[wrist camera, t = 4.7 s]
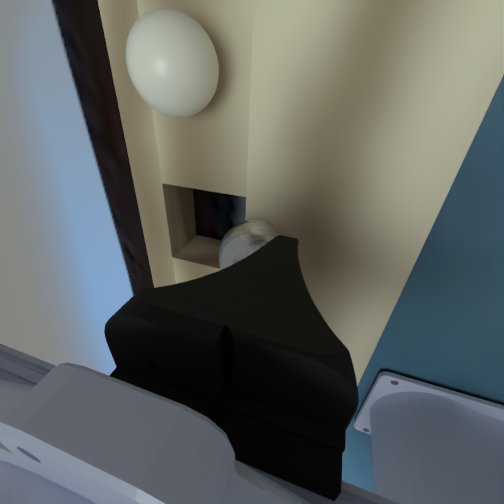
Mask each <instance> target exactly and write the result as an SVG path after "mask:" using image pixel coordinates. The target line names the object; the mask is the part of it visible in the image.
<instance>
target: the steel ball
mask: <svg viewBox="0 0 504 504" xmlns="http://www.w3.org/2000/svg"><path fill="white" fill-rule="evenodd" d="M278 235H282V236H284V235H283V234H282V232H281V231H280V230H279V229H278V228H276V227H275V226H274V225H272V224H270V223H268V222H265V221H261V220H247V221H243V222H241V223H239V224H237V225H235V226H234V227H232V228H231V229H230V230H229V231H228V232H227V233H226V234H225V236H224V238H223V239H222V241H221V244H220V247H219V264H220V267H221V270H222V269H224V268H226V267H229V266H231V265H233V264H235V263H237V262H239V261H240V260H242V259H244V258H245V257H247V256H249V255H250V254H252V253H253V252H255V251H256V250H258V249H259V248H261V247H262V246H264V245H265V244H266V243H268V242H269V241H270V240H272V239H273V238H275V237H276V236H278Z"/></svg>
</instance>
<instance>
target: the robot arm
mask: <svg viewBox="0 0 504 504" xmlns="http://www.w3.org/2000/svg"><path fill="white" fill-rule="evenodd" d="M298 244H299V241H298V239H297V238H292V237H287V236H282V235H278V236H276V237H275V238H273V239H272V240H270V241H269V242H268V243H266V244H265V245H264V246H262V247H261V248H259V249H258V250H256V251H255V252H253V253H252V254H250V255H249V256H247V257H245V258H244V259H242V260H240V261H239V262H237V263H235V264H233V265H231V266H229V267H226V268H224V269H222V270H219V271H217V272H214V273H211V274H208V275H206V276H203V277H200V278H197V279H193V280H189V281H186V282H181V283H177V284H173V285H168V286H162V287H156V288H150V289H143V290H139V291H138V292H137V293H136V294H135V295H134V296H133V297H132V298H131V299H130V300H129V301H128V302H127V303H126V304H124V305H123V306H122V307H121V308H120V309H119V310H118V311H117V312H116V313H115V314H114V315H113V316H112V317H111V318H110V319H109V320H108V321H107V323H106V324H105V337H106V341H107V344H108V346H109V349H110V351H111V354H112V356H113V359H114V361H115V364H116V366H117V367H116V369H115V370H114V371H113V372H112V373H111V375H110V376H108V375H105V374H103V373H100V372H97V371H95V370H92V369H90V368H87V367H85V366H80V365H76V364H71V363H63V364H59V365H58V366H55V365H52V364H50V363H47V362H45V361H42V360H40V359H37V358H35V357H32V356H30V355H27V354H25V353H22V352H20V351H17V350H15V349H13V348H10V347H7V346H5V345H3V344H0V504H504V406H503V405H500V404H497V403H493V402H490V401H486V400H483V399H479V398H476V397H473V396H469V395H466V394H462V393H459V392H456V391H452V390H449V389H445V388H442V387H438V386H435V385H432V384H428V383H425V382H421V381H418V380H415V379H411V378H408V377H404V376H401V375H397V374H394V373H391V372H386V371H384V372H381V373H380V374H379V375H378V377H377V379H376V381H375V383H374V385H373V386H372V388H371V390H370V392H369V394H368V396H367V398H366V400H365V402H364V404H363V406H362V407H361V409H360V411H359V413H358V415H357V417H356V419H355V421H354V428H355V429H357V430H359V431H361V432H364V433H367V434H370V435H371V451H372V468H373V486H374V493H372V492H369V491H367V490H364V489H362V488H359V487H357V486H354V485H352V484H349V483H347V482H344V481H342V452H344V450H345V431H346V429H347V427H348V425H349V423H350V422H351V420H352V418H353V416H354V414H355V412H356V410H357V406H358V388H357V381H356V375H355V371H354V366H353V363H352V359H351V355H350V352H349V350H348V349H347V348H346V346H345V345H344V344H343V343H342V342H341V341H340V339H339V338H338V337H337V336H336V335H335V334H334V332H333V331H332V330H331V328H330V327H329V326H328V324H327V323H326V321H325V320H324V318H323V317H322V315H321V313H320V312H319V310H318V308H317V307H316V305H315V303H314V301H313V299H312V297H311V295H310V293H309V291H308V289H307V286H306V284H305V281H304V278H303V275H302V271H301V267H300V263H299V257H298Z"/></svg>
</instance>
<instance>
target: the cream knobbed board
mask: <svg viewBox="0 0 504 504" xmlns="http://www.w3.org/2000/svg"><path fill="white" fill-rule="evenodd" d="M98 4H99V9H100V14H101V19H102V24H103V29H104V34H105V39H106V44H107V49H108V54H109V59H110V65H111V70H112V75H113V80H114V85H115V90H116V95H117V100H118V105H119V110H120V115H121V120H122V126H123V131H124V136H125V141H126V146H127V151H128V156H129V161H130V166H131V171H132V176H133V181H134V187H135V192H136V197H137V202H138V207H139V212H140V217H141V222H142V227H143V232H144V237H145V242H146V247H147V253H148V258H149V263H150V268H151V273H152V278H153V283H154V288H156V287H162V286H168V285H173V284H177V283H181V282H186V281H189V280H193V279H197V278H200V277H203V276H206V275H208V274H211V273H214V272H217V271H219V270H221V267H220V264H219V247H220V244H221V241H222V240H217V239H213V238H208V237H203V236H198V235H196V222H195V209H194V195H193V188H194V189H200V190H206V191H212V192H218V193H224V194H230V195H236V196H242V197H246V213H245V221H247V220H261V221H265V222H268V223H270V224H272V225H274V226H275V227H276V228H278V229H279V230H280V231H281V232H282V234H283V235H284V236H287V237H292V238H297V239H298V241H299V244H298V257H299V263H300V267H301V271H302V275H303V278H304V281H305V284H306V286H307V289H308V291H309V293H310V295H311V297H312V299H313V301H314V303H315V305H316V307H317V308H318V310H319V312H320V313H321V315H322V317H323V318H324V320H325V321H326V323H327V324H328V326H329V327H330V328H331V330H332V331H333V332H334V334H335V335H336V336H337V337H338V338H339V339H340V341H341V342H342V343H343V344H344V345H345V346H346V348H347V349H348V350H349V352H350V355H351V359H352V363H353V366H354V371H355V375H356V381H357V386H358V384H359V381H360V379H361V377H362V375H363V373H364V371H365V369H366V367H367V364H368V362H369V360H370V358H371V356H372V354H373V352H374V350H375V347H376V345H377V343H378V341H379V339H380V337H381V335H382V332H383V330H384V328H385V326H386V324H387V322H388V320H389V318H390V315H391V313H392V311H393V309H394V307H395V305H396V303H397V301H398V298H399V296H400V294H401V292H402V290H403V288H404V286H405V284H406V281H407V279H408V277H409V275H410V273H411V271H412V269H413V266H414V264H415V262H416V260H417V258H418V256H419V254H420V252H421V249H422V247H423V245H424V243H425V241H426V239H427V237H428V235H429V232H430V230H431V228H432V226H433V224H434V222H435V220H436V217H437V215H438V213H439V211H440V209H441V207H442V205H443V203H444V200H445V198H446V196H447V194H448V192H449V190H450V188H451V186H452V183H453V181H454V179H455V177H456V175H457V173H458V171H459V168H460V166H461V164H462V162H463V160H464V158H465V156H466V154H467V151H468V149H469V147H470V145H471V143H472V141H473V139H474V137H475V134H476V132H477V130H478V128H479V126H480V124H481V122H482V120H483V117H484V115H485V113H486V111H487V109H488V107H489V105H490V102H491V100H492V98H493V96H494V94H495V92H496V90H497V88H498V85H499V83H500V81H501V79H502V77H503V75H504V0H98ZM156 8H173V9H177V10H180V11H182V12H184V13H186V14H188V15H189V16H191V17H192V18H194V19H195V20H196V21H197V22H198V23H199V24H200V25H201V26H202V27H203V29H204V30H205V31H206V33H207V34H208V36H209V37H210V39H211V41H212V43H213V45H214V48H215V51H216V54H217V58H218V65H219V78H218V84H217V88H216V91H215V94H214V96H213V98H212V99H211V101H210V102H209V104H208V105H207V106H206V107H205V108H204V109H203V110H201V111H200V112H198V113H196V114H194V115H191V116H188V117H172V116H168V115H165V114H163V113H161V112H159V111H157V110H155V109H154V108H152V107H151V106H150V105H149V104H148V103H147V102H146V101H145V100H144V99H143V98H142V97H141V96H140V94H139V93H138V92H137V90H136V88H135V87H134V85H133V83H132V81H131V78H130V76H129V72H128V69H127V64H126V43H127V38H128V35H129V33H130V30H131V28H132V26H133V25H134V23H135V22H136V21H137V19H138V18H140V17H141V16H142V15H143V14H144V13H146V12H148V11H150V10H153V9H156Z"/></svg>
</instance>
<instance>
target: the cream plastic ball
mask: <svg viewBox="0 0 504 504" xmlns="http://www.w3.org/2000/svg"><path fill="white" fill-rule="evenodd" d="M126 64H127V69H128V72H129V76H130V78H131V81H132V83H133V85H134V87H135V88H136V90H137V92H138V93H139V94H140V96H141V97H142V98H143V99H144V100H145V101H146V102H147V103H148V104H149V105H150V106H151V107H152V108H154V109H155V110H157V111H159V112H161V113H163V114H165V115H168V116H172V117H188V116H191V115H194V114H196V113H198V112H200V111H201V110H203V109H204V108H205V107H206V106H207V105H208V104H209V102H210V101H211V99H212V98H213V96H214V94H215V91H216V88H217V84H218V78H219V65H218V58H217V54H216V51H215V48H214V45H213V43H212V41H211V39H210V37H209V36H208V34H207V33H206V31H205V30H204V29H203V27H202V26H201V25H200V24H199V23H198V22H197V21H196V20H195V19H194V18H192V17H191V16H189V15H188V14H186V13H184V12H182V11H180V10H177V9H173V8H156V9H153V10H150V11H148V12H146V13H144V14H143V15H142V16H141V17H140V18H138V19H137V21H136V22H135V23H134V25H133V26H132V28H131V30H130V33H129V35H128V38H127V43H126Z"/></svg>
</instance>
